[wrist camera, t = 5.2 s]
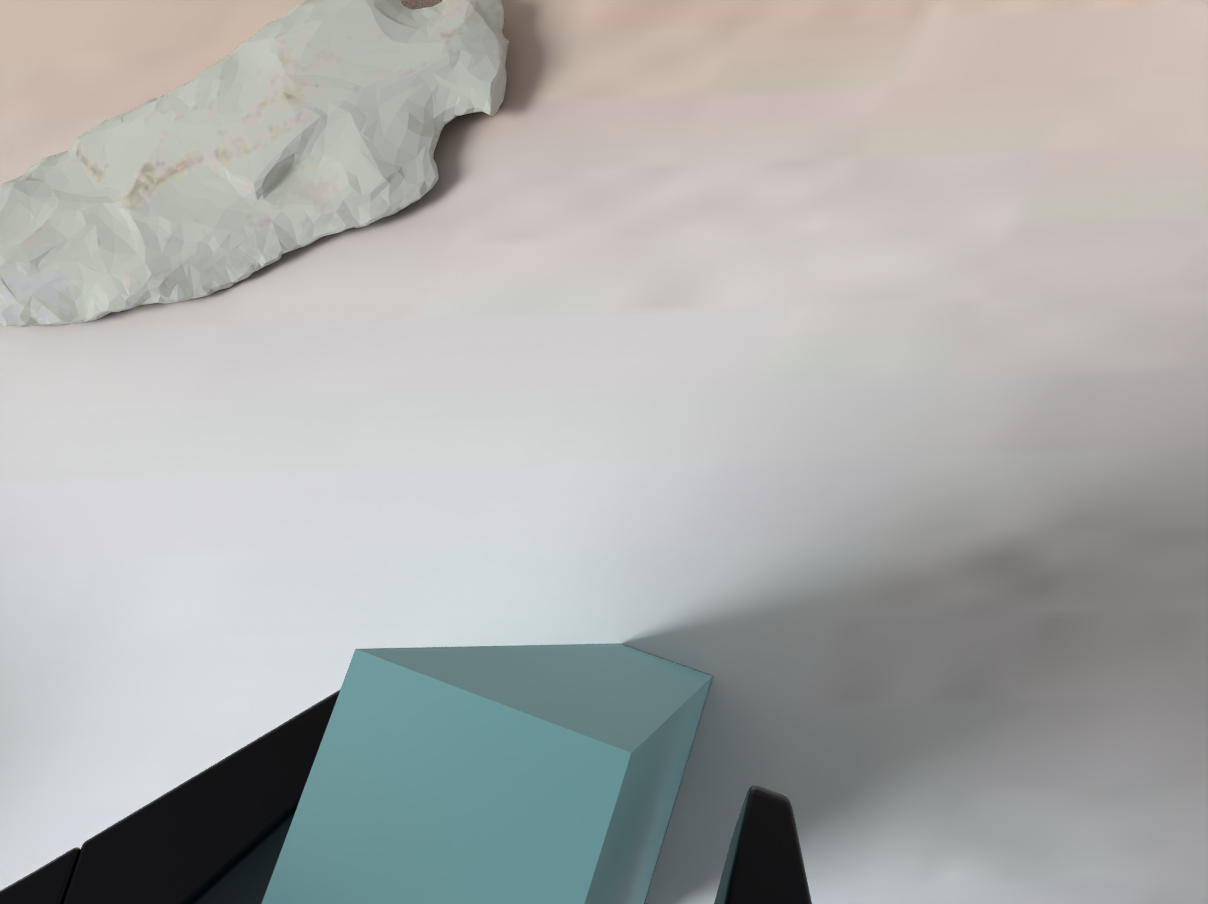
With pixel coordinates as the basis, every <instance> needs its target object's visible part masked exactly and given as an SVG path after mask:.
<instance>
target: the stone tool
mask: <svg viewBox="0 0 1208 904" xmlns="http://www.w3.org/2000/svg"><path fill="white" fill-rule="evenodd" d="M503 26H504V9H503V5H502V2H501V0H442V2H441V3H439V4H436V5H434V6H432V7H426V8H420V9H414V10H412V9H409V8H407V7H406V6H404V5H403V4H402V0H308V1H305V2H302V3H300V4H298V5H297V6H295V7H293V8H291V9H289V10H288V12H287V13H286V14H285V15H284V16H283V17H281V18H280V19H278V20H276V21H274V22H271V23H269V24H267V25H266V26H265V27H264V28H263V29H261V30H260V31H259V32H258V33H257V34H255V35H254V36H253V37H252V38H250V39H249V40H247V41H246V42H244V43H243V44H241V45H240V46H238V47H237V48H236V49H235V50H234V51H233V52H232V53H231V54H230V55H229V56H227V57H226V58H225V59H223V60H222V61H220V62H218V63H217V64H215V65H213V66H211V67H210V68H208V69H207V70H205V71H204V72H203V73H201V74H200V75H199V76H198V77H196V78H195V79H193V80H191V81H190V82H188V83H186V84H184V85H182V86H180V87H178V88H176V89H174V90H173V91H171V92H169V93H168V94H166V95H164V96H162V97H160V98H159V99H156V98H154V99H150V100H148V101H147V102H145V103H143V104H142V105H140V106H138V107H137V108H135V109H133V110H131V111H129V112H127V113H125V114H122V115H119V116H116V117H114V118H111V119H109V120H105V121H103V122H102V123H100V124H99V125H97V126H96V127H94V128H93V129H92V130H90V131H89V132H86V133H84V134H83V135H81V136H80V137H78V138H77V140H76V142H75V145H74V147H72V148H71V149H70V150H69V151H67V152H63V153H60V154H58V155H54V156H49V157H46V158H44V159H42V160H41V161H40V162H39V163H38V164H36V165H34V166H32V167H31V168H30V169H29V170H28V171H27V172H26V173H25V174H24V175H22V176H20V177H18V178H16V179H14V180H11V181H9V182H6V183H4V184H3V185H1V186H0V325H4V326H15V327H25V326H54V325H62V324H77V323H82V322H87V321H94V320H97V319H100V318H102V317H103V316H105V315H107V314H109V313H110V312H120V311H123V310H128V309H132V308H134V307H137V306H139V305H144V304H153V303H163V304H168V303H174V302H180V301H185V300H190V299H195V298H200V297H205V296H209V295H210V294H212V293H213V292H215V291H218V290H221V289H225V288H230V287H231V286H232V285H233V284H234V283H236V282H238V281H241V280H243V279H245V278H247V277H249V276H250V275H251V274H252V273H253V272H255V271H258V270H259V269H261V268H263V267H265V266H267V265H270V264H272V263H274V262H275V261H277V260H279V259H280V258H281V256H282V254H283V253H286V252H289V251H292V250H295V249H298V248H300V247H305V246H307V245H309V244H311V243H312V242H314V241H316V240H317V239H319V238H321V237H323V236H326V235H330V234H334V233H339V232H343V231H345V230H346V229H348V228H353V227H355V228H360V227H364V226H368V225H369V224H371V223H373V222H375V221H377V220H379V219H381V218H383V217H386V216H390V215H393V214H395V213H397V212H398V211H400V210H402V209H403V208H405V207H407V206H408V205H410V204H412V203H414V202H415V201H417V200H419V199H420V198H421V197H422V196H424V195H425V194H426V193H427V192H428V191H430V190H431V189H432V188H433V187H434V185H435V184H436V182H437V181H438V179H439V176H438V169H437V165H436V163H435V161H434V159H433V156H434V150H435V148H436V145H437V142H438V139H439V136H440V133H441V131H442V129H443V127H444V125H445V124H447V123H448V122H450V121H451V120H453V119H454V118H455V117H456V116H461V115H465V114H469V113H473V112H484V113H486V114H488V115H490V116H494V115H495V114H496V113H497V111H498V109H499V107H500V105H501V104H502V102H503V100H504V95H505V89H506V84H507V72H506V69H505V63H506V56H507V50H508V46H509V40H508V39H506V38H505V37H504V34H503V32H502V30H503Z"/></svg>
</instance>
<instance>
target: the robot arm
mask: <svg viewBox="0 0 1208 904" xmlns="http://www.w3.org/2000/svg"><path fill="white" fill-rule="evenodd" d="M340 690H341V689H340ZM340 690H339V691H337V692H335V693H334V694H332V695H330V696H329V697H327V698H325V699H324V700H322V701H320V702H319V703H317V704H315V705H314V706H312V707H310V708H309V709H307V710H305V711H303V712H302V713H300V714H298V715H297V716H295V717H293V718H292V719H290V720H288V721H287V722H285V723H283V724H282V725H280V726H278V727H277V728H275V729H273V730H272V731H270V732H268V733H267V734H265V735H263V736H262V737H260V738H258V739H257V740H255V741H253V742H252V743H250V744H248V745H246V746H245V747H243V748H241V749H240V750H238V751H236V752H235V753H233V754H231V755H230V756H228V757H226V758H225V759H223V760H221V761H220V762H218V763H216V764H215V765H213V766H211V767H210V768H208V769H206V770H205V771H203V772H201V773H200V774H198V775H196V776H194V777H193V778H191V779H189V780H188V781H186V782H184V783H183V784H181V785H179V786H178V787H176V788H174V789H173V790H171V791H169V792H168V793H166V794H164V795H163V796H161V797H159V798H158V799H156V800H154V801H153V802H151V803H149V804H148V805H146V806H144V807H143V808H141V809H139V810H137V811H136V812H134V813H132V814H131V815H129V816H127V817H126V818H124V819H122V820H121V821H119V822H117V823H116V824H114V825H112V826H111V827H109V828H107V829H106V830H104V831H102V832H101V833H99V834H97V835H96V836H94V837H92V838H91V839H89V840H87V841H86V842H84V844H83V845H82V847H81V849H80V848H78V847H77V848H73V849H72V850H70V851H68V852H66V853H65V854H63V855H61V856H60V857H58V858H56V859H55V860H53V861H51V862H50V863H48V864H46V865H45V866H43V867H41V868H40V869H38V870H36V871H35V872H33V873H31V874H29V875H28V876H26V877H24V878H22V879H21V880H19V881H17V882H15V883H14V884H12V885H10V886H8V887H7V888H5V889H3V890H1V891H0V904H262V901H263V898H264V896H265V893H266V890H267V888H268V885H269V882H270V879H271V877H272V874H273V871H274V869H275V866H276V863H277V860H278V858H279V855H280V852H281V850H282V847H283V844H284V842H285V839H286V836H287V833H288V831H289V828H290V825H291V823H292V820H293V817H294V814H295V812H296V809H297V806H298V804H299V801H300V798H301V796H302V793H303V790H304V787H305V785H306V782H307V779H308V777H309V774H310V771H311V768H312V766H313V763H314V760H315V758H316V755H317V752H318V750H319V747H320V744H321V741H322V739H323V736H324V733H325V731H326V728H327V725H328V722H329V720H330V717H331V714H332V712H333V709H334V706H335V704H336V701H337V698H338V695H339V693H340ZM714 904H812V902H811V897H810V892H809V887H808V882H807V877H806V873H805V868H804V863H803V858H802V853H801V848H800V843H799V838H798V833H797V828H796V824H795V819H794V814H793V809H792V806H791V803H790V801H789V799H788V798H787V797H786V796H784V795H781V794H778V793H776V792H773V791H770V790H768V789H765V788H762V787H760V786H752V787H751V788H749V790H748V793H747V795H746V798H745V801H744V804H743V807H742V810H741V813H740V816H739V819H738V822H737V824H736V827H735V830H734V834H733V837H732V840H731V844H730V847H729V851H728V855H727V858H726V862H725V866H724V870H723V873H722V877H721V881H720V884H719V888H718V892H717V896H716V899H715V903H714Z"/></svg>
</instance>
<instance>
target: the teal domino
mask: <svg viewBox="0 0 1208 904" xmlns="http://www.w3.org/2000/svg"><path fill="white" fill-rule="evenodd" d="M712 677H713V676H711V675H708V674H705V673H703V672H700V671H697V670H694V669H691V668H688V667H685V666H682V665H680V664H677V663H674V662H671V661H668V660H665V659H662V658H659V657H657V656H654V655H651V654H648V653H645V652H642V651H639V650H637V649H634V648H631V647H628V646H625V645H622V644H577V645H527V646H478V647H428V648H379V649H355V652H354V655H353V658H352V660H351V663H350V666H349V668H348V671H347V674H346V676H345V679H344V682H343V685H342V687H341V690H340V693H339V695H338V698H337V701H336V704H335V706H334V709H333V712H332V714H331V717H330V720H329V722H328V725H327V728H326V731H325V733H324V736H323V739H322V741H321V744H320V747H319V750H318V752H317V755H316V758H315V760H314V763H313V766H312V768H311V771H310V774H309V777H308V779H307V782H306V785H305V787H304V790H303V793H302V796H301V798H300V801H299V804H298V806H297V809H296V812H295V814H294V817H293V820H292V823H291V825H290V828H289V831H288V833H287V836H286V839H285V842H284V844H283V847H282V850H281V852H280V855H279V858H278V860H277V863H276V866H275V869H274V871H273V874H272V877H271V879H270V882H269V885H268V888H267V890H266V893H265V896H264V898H263V901H262V904H644V903H645V899H646V896H647V893H648V889H649V886H650V883H651V879H652V876H653V873H654V869H655V866H656V863H657V859H658V856H659V853H660V850H661V846H662V843H663V840H664V836H665V833H666V830H667V826H668V823H669V820H670V816H671V813H672V810H673V806H674V803H675V800H676V796H677V793H678V790H679V786H680V783H681V780H682V776H683V773H684V770H685V766H686V763H687V760H688V756H689V753H690V750H691V747H692V743H693V740H694V737H695V733H696V730H697V727H698V723H699V720H700V717H701V713H702V710H703V707H704V703H705V700H706V697H707V693H708V690H709V687H710V683H711V680H712Z"/></svg>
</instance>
